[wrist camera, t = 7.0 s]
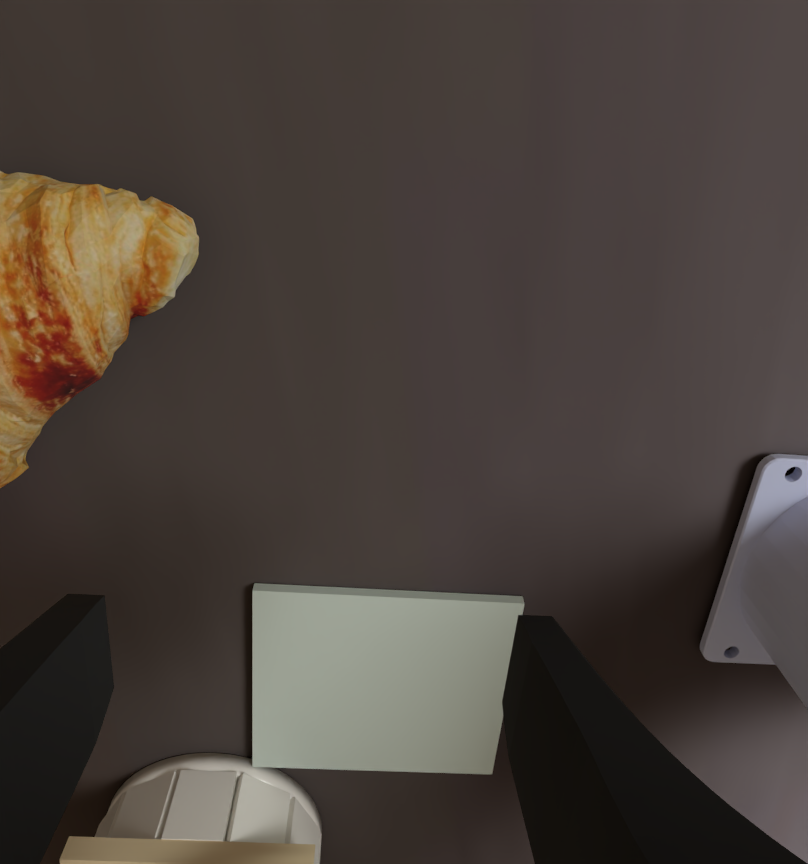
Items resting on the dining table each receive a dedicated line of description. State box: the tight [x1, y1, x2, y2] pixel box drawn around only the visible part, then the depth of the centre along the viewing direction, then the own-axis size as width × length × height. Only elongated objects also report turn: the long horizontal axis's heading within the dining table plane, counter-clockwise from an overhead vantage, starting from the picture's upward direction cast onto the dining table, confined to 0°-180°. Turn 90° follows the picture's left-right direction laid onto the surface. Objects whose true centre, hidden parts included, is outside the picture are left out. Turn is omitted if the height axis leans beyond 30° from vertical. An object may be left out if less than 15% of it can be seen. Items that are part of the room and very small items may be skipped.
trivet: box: [252, 583, 525, 774], centre depth 26 cm, size 9×8×1 cm
